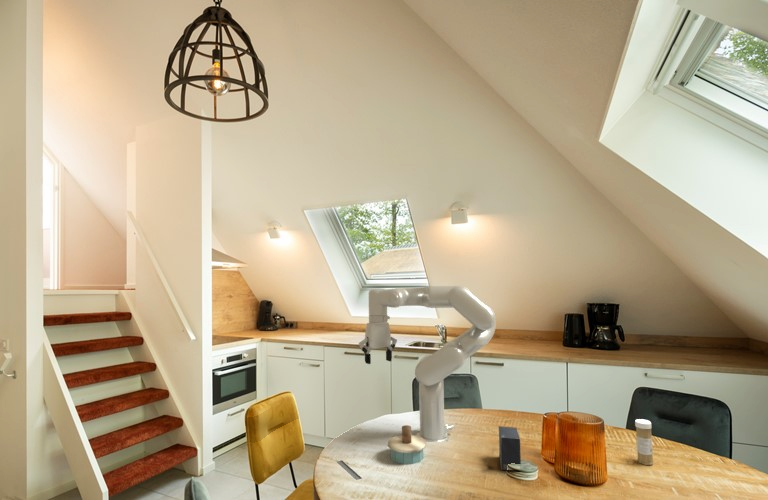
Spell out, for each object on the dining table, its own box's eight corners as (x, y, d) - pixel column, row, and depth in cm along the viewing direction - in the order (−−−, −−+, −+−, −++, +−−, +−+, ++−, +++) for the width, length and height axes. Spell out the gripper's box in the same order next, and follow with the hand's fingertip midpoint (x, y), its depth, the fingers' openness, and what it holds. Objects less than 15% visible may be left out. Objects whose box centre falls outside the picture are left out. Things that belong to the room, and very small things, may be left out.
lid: (411, 435, 153) (411, 418, 153) (433, 447, 141) (433, 428, 142) (381, 442, 146) (380, 425, 146) (401, 456, 135) (400, 436, 135)
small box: (522, 472, 133) (521, 438, 134) (501, 470, 134) (499, 437, 135) (518, 458, 143) (517, 426, 144) (498, 456, 145) (497, 425, 145)
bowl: (411, 450, 151) (411, 436, 151) (429, 462, 141) (429, 446, 142) (385, 457, 145) (384, 443, 146) (402, 470, 136) (401, 454, 136)
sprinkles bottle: (642, 458, 141) (640, 417, 142) (656, 464, 137) (654, 421, 138) (634, 461, 139) (631, 420, 140) (648, 466, 135) (645, 424, 136)
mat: (375, 453, 149) (375, 451, 149) (397, 469, 136) (397, 467, 136) (336, 463, 142) (336, 461, 142) (356, 481, 129) (356, 479, 129)
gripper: (391, 317, 178) (391, 358, 177) (354, 320, 169) (355, 363, 168) (400, 319, 172) (401, 361, 171) (363, 321, 163) (364, 366, 162)
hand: (378, 362), depth 169 cm, fingers open, 9 cm apart
